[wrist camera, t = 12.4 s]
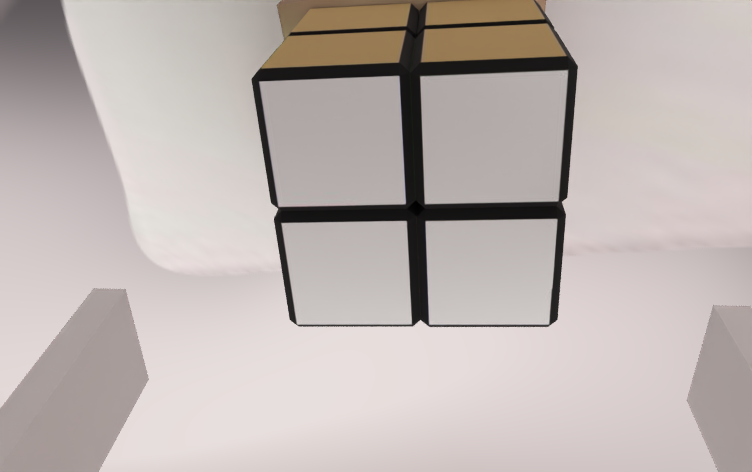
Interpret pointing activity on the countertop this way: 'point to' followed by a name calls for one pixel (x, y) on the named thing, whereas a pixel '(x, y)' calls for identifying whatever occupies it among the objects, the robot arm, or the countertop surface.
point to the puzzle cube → (420, 163)
